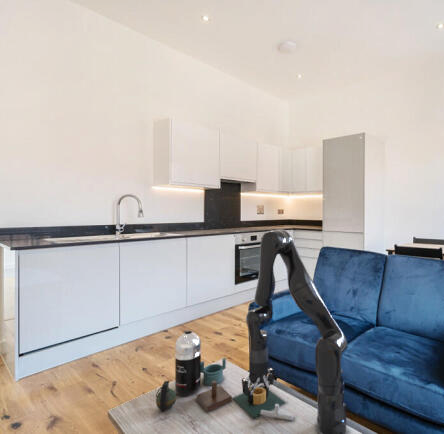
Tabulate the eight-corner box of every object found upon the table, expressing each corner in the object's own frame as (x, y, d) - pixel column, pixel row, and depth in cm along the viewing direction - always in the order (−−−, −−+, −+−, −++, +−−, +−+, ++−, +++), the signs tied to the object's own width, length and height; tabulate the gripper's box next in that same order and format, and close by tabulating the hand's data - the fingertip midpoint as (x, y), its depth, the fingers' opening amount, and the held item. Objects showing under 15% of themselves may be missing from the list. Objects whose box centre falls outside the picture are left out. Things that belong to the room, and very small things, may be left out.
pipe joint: (260, 415, 112) (260, 403, 112) (261, 412, 114) (262, 400, 114) (291, 421, 110) (292, 409, 110) (292, 418, 111) (293, 406, 111)
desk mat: (284, 403, 120) (284, 402, 120) (254, 419, 111) (254, 418, 111) (262, 385, 132) (262, 384, 132) (232, 398, 123) (232, 397, 123)
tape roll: (268, 400, 121) (268, 391, 121) (255, 406, 117) (255, 397, 117) (260, 393, 126) (260, 385, 126) (247, 399, 122) (247, 390, 122)
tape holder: (231, 401, 121) (231, 382, 121) (207, 412, 114) (207, 392, 114) (220, 390, 128) (220, 372, 128) (196, 399, 122) (196, 381, 122)
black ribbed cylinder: (191, 398, 122) (192, 336, 122) (169, 395, 124) (169, 334, 124) (205, 384, 132) (206, 327, 132) (184, 381, 134) (184, 325, 134)
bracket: (198, 382, 134) (198, 362, 134) (214, 372, 142) (214, 353, 142) (212, 388, 130) (212, 367, 130) (228, 378, 138) (228, 358, 137)
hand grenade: (159, 403, 119) (159, 378, 119) (178, 402, 120) (178, 376, 120) (152, 417, 111) (152, 389, 111) (172, 415, 112) (172, 388, 112)
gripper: (247, 367, 114) (247, 412, 114) (279, 355, 123) (278, 396, 124) (237, 360, 119) (237, 402, 119) (268, 349, 129) (267, 388, 129)
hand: (258, 399), depth 121 cm, fingers open, 6 cm apart
